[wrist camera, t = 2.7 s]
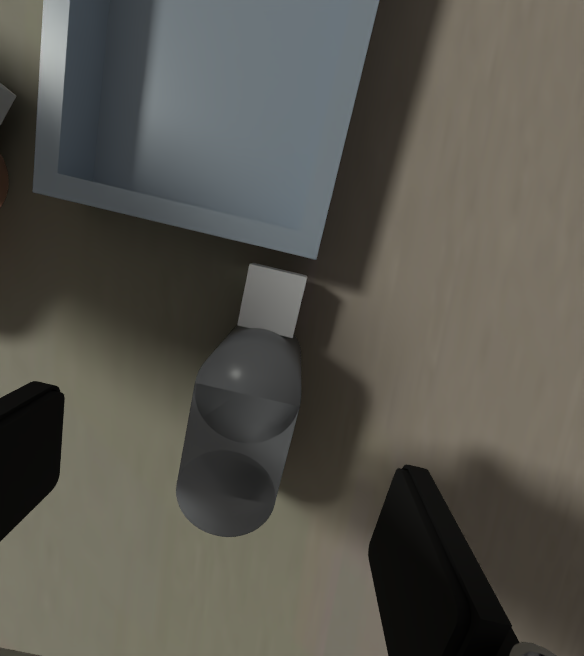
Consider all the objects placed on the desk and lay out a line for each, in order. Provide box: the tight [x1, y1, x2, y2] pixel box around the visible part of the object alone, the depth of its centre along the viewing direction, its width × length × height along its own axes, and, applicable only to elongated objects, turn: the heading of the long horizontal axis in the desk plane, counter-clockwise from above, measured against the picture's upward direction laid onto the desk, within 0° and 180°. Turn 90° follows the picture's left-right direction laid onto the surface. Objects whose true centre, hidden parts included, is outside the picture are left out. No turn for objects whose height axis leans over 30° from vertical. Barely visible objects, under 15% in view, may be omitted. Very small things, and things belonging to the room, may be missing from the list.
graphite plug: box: [176, 263, 307, 537], centre depth 14 cm, size 10×4×4 cm, turn 167°
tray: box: [33, 0, 379, 260], centre depth 12 cm, size 14×10×3 cm
